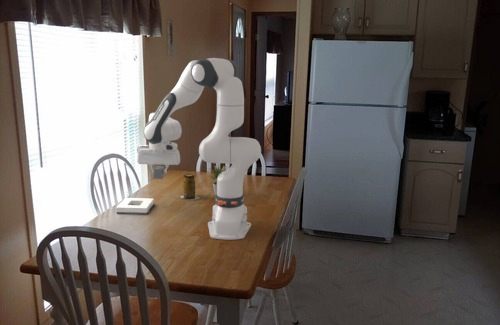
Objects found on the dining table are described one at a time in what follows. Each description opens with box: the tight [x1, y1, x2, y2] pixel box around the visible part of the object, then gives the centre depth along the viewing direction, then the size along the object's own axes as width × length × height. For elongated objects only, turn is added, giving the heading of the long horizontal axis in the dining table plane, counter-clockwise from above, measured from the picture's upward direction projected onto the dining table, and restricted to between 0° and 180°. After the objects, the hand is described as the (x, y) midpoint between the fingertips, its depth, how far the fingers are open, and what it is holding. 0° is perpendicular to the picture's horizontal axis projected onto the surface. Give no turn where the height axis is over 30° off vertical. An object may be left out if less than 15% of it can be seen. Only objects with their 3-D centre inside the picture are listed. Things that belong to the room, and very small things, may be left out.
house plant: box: [207, 165, 228, 196], centre depth 232 cm, size 14×14×16 cm
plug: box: [153, 165, 166, 180], centre depth 215 cm, size 5×4×5 cm
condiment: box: [179, 173, 200, 201], centre depth 228 cm, size 7×8×12 cm
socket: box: [115, 197, 155, 215], centre depth 211 cm, size 14×14×3 cm
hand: (159, 173), depth 215 cm, fingers closed on plug, 4 cm apart
